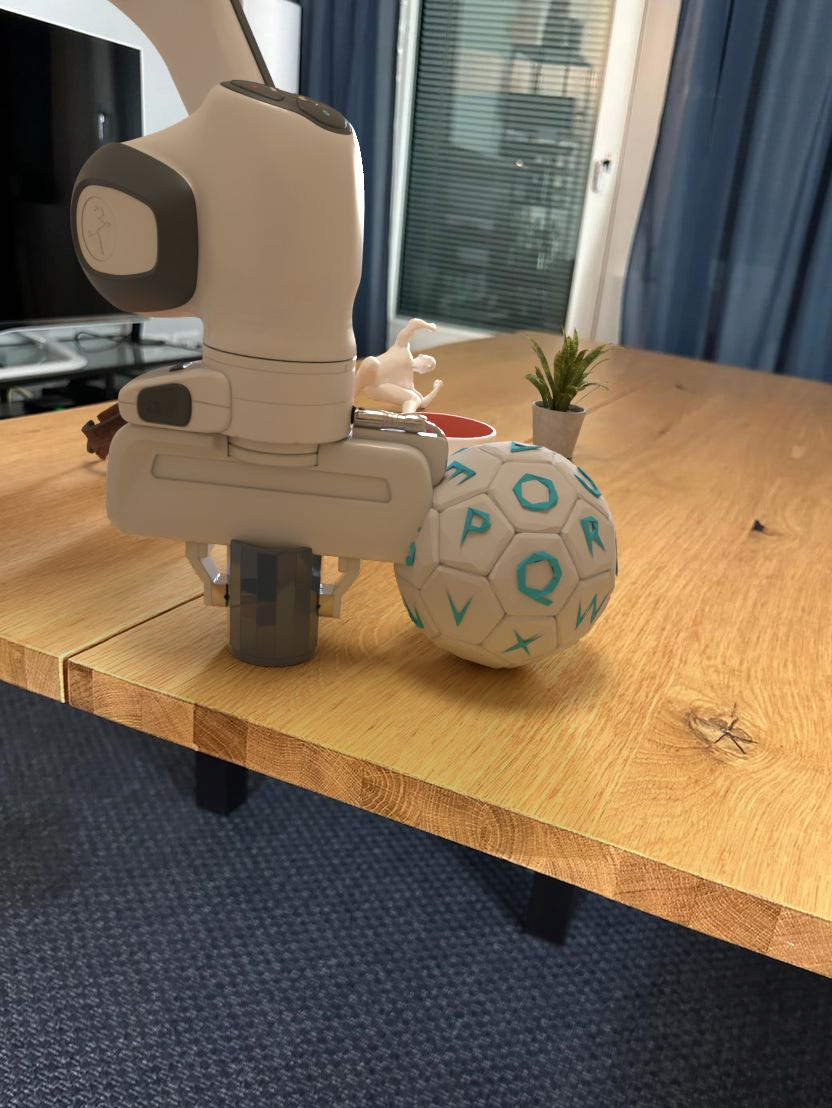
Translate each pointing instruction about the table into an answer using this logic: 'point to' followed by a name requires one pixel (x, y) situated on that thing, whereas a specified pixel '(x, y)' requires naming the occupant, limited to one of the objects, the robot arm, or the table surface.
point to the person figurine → (397, 372)
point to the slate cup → (273, 604)
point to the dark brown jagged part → (103, 431)
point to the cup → (460, 430)
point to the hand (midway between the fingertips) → (273, 608)
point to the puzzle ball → (510, 556)
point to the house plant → (562, 395)
